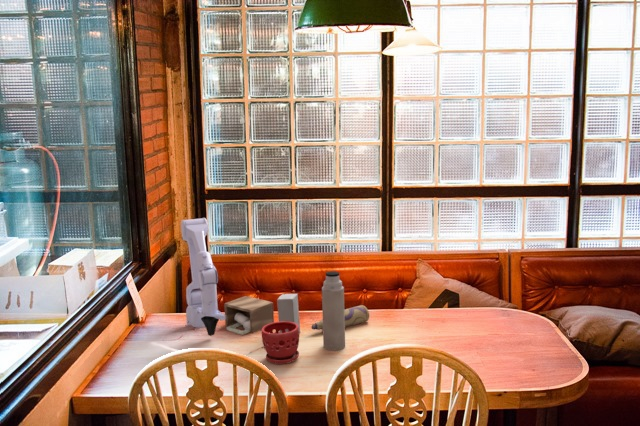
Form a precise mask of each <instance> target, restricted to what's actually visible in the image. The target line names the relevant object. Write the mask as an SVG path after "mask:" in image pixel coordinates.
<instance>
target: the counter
mask: <svg viewBox="0 0 640 426" xmlns="http://www.w3.org/2000/svg"><path fill="white" fill-rule="evenodd" d="M223 306H224V307H223V308H224V314H225V318H226V319H225V320H224V323H225V325H224V326H226V327H228V326H230V325H233V324H236V323H238V322H237V321H236V320H235V319H234V318H235V315H236V314H237V313H238V312H240V313H242V314H243V315H245V316H246V317H248V318H250V328H251V332H250V333H251V334H255V333H257V332H258V331H259V332H260V331H261V329H262V328H263V327H264V326H265V325H267V324H270V323H274V322H275V320H274V318H275V316H274V313H275V311H274V302H272V301H269V300H264V299H260V298H257V297H252V296H248V295H245V296H244V295H243V296H241V297H238V298H236V299H233V300H230V301H227V302H225V303H224V305H223Z"/></svg>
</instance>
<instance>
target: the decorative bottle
mask: <svg viewBox="0 0 640 426" xmlns="http://www.w3.org/2000/svg"><path fill="white" fill-rule="evenodd" d="M344 315H345V328H347V327H350V326H354V325H357V324H361V323H365V322H368V321H369V319H370V311H369V310H368V308H367V307H366V306H365V305H362V304H360V305H357V306H353V307H349V308H346V309H345V308H344ZM310 327H311V329H312V330H317V331H320V330H322V331H323V319H321V320H320V321H316V322H315V323H313V324H312V325H311V326H310Z"/></svg>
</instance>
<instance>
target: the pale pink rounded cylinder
mask: <svg viewBox="0 0 640 426" xmlns="http://www.w3.org/2000/svg"><path fill="white" fill-rule="evenodd" d="M242 327H243V330H246V329H248V328H250V320H248V321H246V322H244V323H243V325H242Z"/></svg>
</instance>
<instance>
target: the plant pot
mask: <svg viewBox="0 0 640 426" xmlns="http://www.w3.org/2000/svg"><path fill="white" fill-rule="evenodd" d="M285 329H288V330H289V331H288V332H286V331H285ZM274 330H275V332H274ZM280 330H281V331H282V333H280ZM260 331H261V341H262V345H263V348H264V350H265V352H266V354H265V357H266V359H267V361H268V362H269V363H272V364H276V365H284V364H285V365H286V364H290V363H292V362H294V361H296V360H297V359H299V357H300V356H299V355H300V352H299V351H298V348H299V345H300V344H299V342H300V333H299V326H298V325H297V324H296V323H294V322H288V321H281V322H279V321H274V323H270V324H267V325H265V326H264V327H263V328H262V329H261V330H260Z"/></svg>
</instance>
